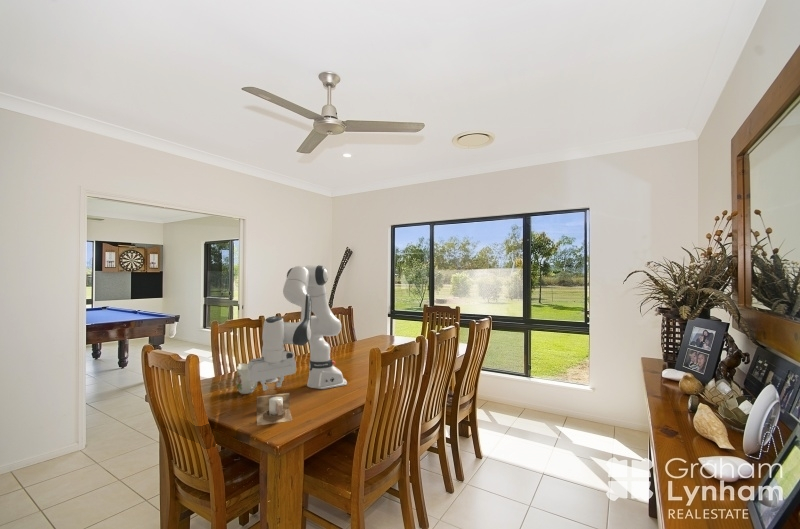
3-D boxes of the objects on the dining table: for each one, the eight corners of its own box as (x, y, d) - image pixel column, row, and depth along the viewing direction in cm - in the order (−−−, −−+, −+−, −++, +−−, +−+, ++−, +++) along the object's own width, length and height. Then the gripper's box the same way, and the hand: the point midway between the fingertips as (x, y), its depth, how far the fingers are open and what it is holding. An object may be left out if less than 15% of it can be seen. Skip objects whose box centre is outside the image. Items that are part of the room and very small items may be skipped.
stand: (288, 410, 164) (289, 392, 165) (292, 424, 150) (292, 404, 150) (256, 414, 159) (256, 396, 159) (256, 429, 144) (257, 409, 144)
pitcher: (246, 399, 178) (246, 371, 178) (229, 391, 189) (229, 365, 190) (266, 393, 186) (266, 367, 187) (248, 386, 198) (249, 361, 198)
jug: (267, 415, 154) (267, 398, 155) (280, 412, 158) (280, 395, 158) (273, 423, 146) (273, 405, 147) (287, 420, 150) (287, 402, 150)
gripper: (251, 361, 140) (250, 396, 140) (298, 353, 155) (297, 385, 154) (245, 358, 144) (244, 392, 144) (291, 350, 159) (290, 381, 159)
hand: (272, 388), depth 149 cm, fingers open, 5 cm apart
